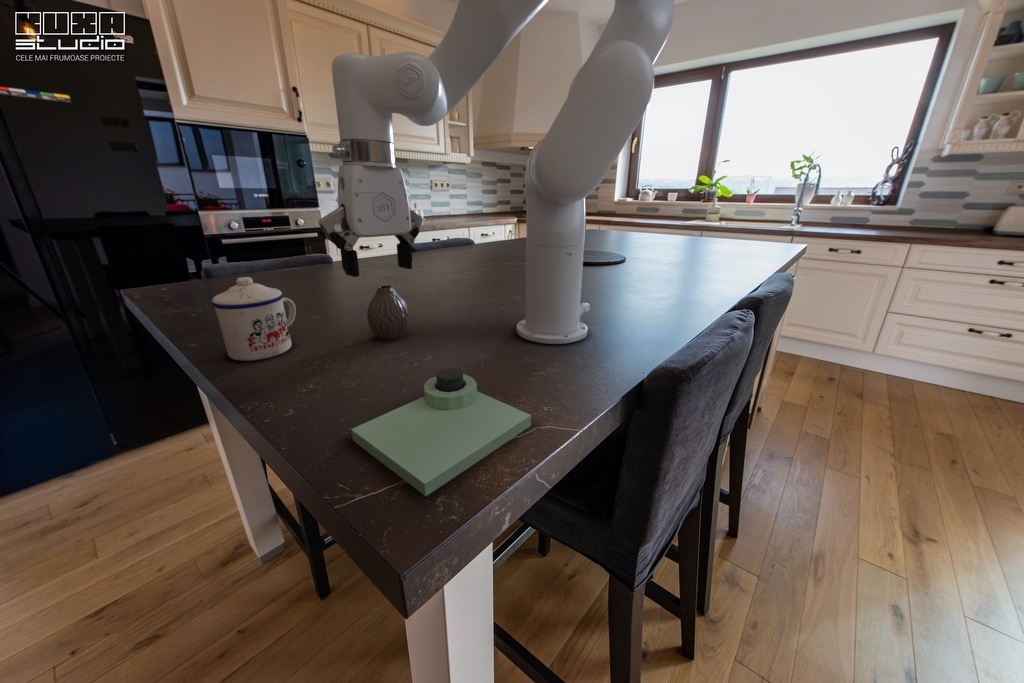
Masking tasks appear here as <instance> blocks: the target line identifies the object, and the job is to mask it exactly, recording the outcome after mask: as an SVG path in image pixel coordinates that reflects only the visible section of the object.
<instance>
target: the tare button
mask: <svg viewBox="0 0 1024 683" xmlns="http://www.w3.org/2000/svg"><path fill="white" fill-rule="evenodd" d="M463 374H464V372H463V371H462V369H460V368H455V367H452V368H451V367H449V368H442V369H441V370H439V371H437V372H436V374H435V377H436V379H437V389H438V390H439V391H441V392H454V391H458V390H460V389H463V387H464V385H463Z"/></svg>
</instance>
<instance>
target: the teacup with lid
mask: <svg viewBox="0 0 1024 683" xmlns="http://www.w3.org/2000/svg"><path fill="white" fill-rule="evenodd" d="M235 283H236V284H234V285H233V286H230V287H229V288H228V289H227V290H225V291H224V292H221V293H218V294H216V295H214V296H213V297H212V300H211V305H212V307H214V309H215V312H216V317H217V321H218V324H219V327H220V331H221V335H222V339H223V341H224V344H225V345H224V346H225V349H226V352H227V355H228V357H229V358H230V359H232V360H234V361H240V362H253V361H260V360H265V359H270V358H273V357H277V356H279V355H281V354H284V353H286V352H288V351H289V350H290V349H291V348H292V338H291V333H290V329H289V327H290V326H291V325H292V324H293V323H294V321H295V318H296V315H297V308H296V304H295V302H294V301H293V299H290V298H288V297H284V294H283V292H282V291H281V290H280V289H278V288H276V287H275V288H274V287H267V286H266V285H263V284H262V283H261V284H260V283H256V282H254V281H253V278H252V277H250V276H243V277H242V276H241V277H238V278H236V280H235ZM284 303H285V304H286V305H287V309H288V313H287V316H286V310H285V306H284Z"/></svg>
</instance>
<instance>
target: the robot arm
mask: <svg viewBox="0 0 1024 683" xmlns="http://www.w3.org/2000/svg"><path fill="white" fill-rule="evenodd" d="M549 1H550V0H458V2H457V6H456V8H455V9H456V10H455V12H454V16H453V18H452V21H451V23H450V25H449V27H448V29H447V31H446V33H445V34H444V36H443V38H442V39H441V40H440V42H439V44H438V45H437V46H436V47H435V49H433V51H432V52H431V53H430V54H429V56H428V57H427V56H425V55H423V54H421V53H419V52H414V51H401V52H395V53H389V54H383V55H374V56H373V55H367V54H363V53H354V52H353V53H351V52H350V53H348V52H347V53H342V54H338V55H337V56H335V57H334V58H333V60H332V63H331V75H332V83H333V91H334V92H333V93H334V100H335V110H336V117H337V124H338V126H337V127H338V134H339V141H338V144H333V145H332V153H333V155H334V156H337V157H338V156H339V157H340V161H341V162H342V165H338V174H337V208H335V209H334V210H332V211H331V212H329V213H327V214H326V215H325V216H323V217H320V219H318V221H317V223H318V225H319V227H320V228H321V230H322V231H323V233H324V234H325V235H326V238H327V239H328V240H329V241H330V242H331V243H332V244H333V245H335V246H336V248H337V249H339V251H340V257H341V265H342V270H343V271H344V273H345V275H346V276H350V277H353V278H358V277H359V276H360V267H359V266H360V265H359V259H358V252H357V250H356V249H354V246H355V245H356V244H357V242H358V240H359V239H360V238H376V237H391V236H394V237H395V238H396V239H397V241H398V242H399V243H398V242H397V243H396V252H397V253H396V255H397V266H398V267H399V268H402V269H405V270H411V269H413V250H412V246H413V245H414V244H415V239H416V238H417V237H418V235H419V233H420V229H421V226H422V223H423V220H424V219H423V216H421V215H419V214H418V213H416V212H414V211H413V210H411V209H410V203H409V197H408V190H407V187H406V182H405V178H404V174H403V172H402V168H401V167H399V168H398V167H397V164H396V162H397V160H396V148H395V139H394V123H393V114H396V115H397V114H398V115H401V116H403V117H406V119H408V120H409V121H410V122H412V123H413V124H415V125H417V126H421V127H430V126H434V125H436V124H437V123H439V122H441V121H442V120H443V119H444V118H445V117H447V115H449V113H450V112H451V111H452V110H453V109H454V108H455V107H456V106H457V105H458V104H459V103H460V102H461V101H462V100H463V99H464V98H465V97H466V96H467V95H468V93H470V91H471V90H472V89H473V88H474V86H476V84H477V83H478V82H479V80H481V78H482V77H483V76H484V74H485V73H486V72H487V71H488V70H489V68H490V67H491V66H492V65H493V64H494V62H496V61H497V59H498V58H499V57H500V56H501V55H502V54H503V52H504V51H505V49H506V47H507V46H508V45H509V43H510V42H512V41H513V39H514V38H515V37H516V36H517V35H518V34H519V33H520V32H521V30H522V29H523V28H524V27H526V25H527V24H528V23H529V22H530V21H531V20H532V19H533V18H534V17H535V15H536V14H538V13H539V11H540V10H541V9H542V8H544V6H545V5H546V4H547V3H548V2H549ZM613 6H614V7H613V11H612V14H611V15H610V17H609V19H608V21H607V23H606V25H605V26H604V28H603V31H602V33H601V35H600V36H599V38H598V40H597V42H596V43H595V46H594V47H593V49H592V51H591V53H590V54H589V56H588V57H587V59H586V61H585V62H584V63H583V64H582V66H581V67H580V69H579V70H578V71H577V73H576V74H575V76H574V77H573V80H572V82H571V84H570V86H569V89H568V92H567V97H566V100H565V101H564V103H563V104H562V106H561V108H560V109H559V112H558V113H557V115H556V117H555V119H554V120H553V122H552V124H551V126H550V128H549V129H548V131H547V132H546V134H545V135H544V137H543V138H541V140H539V141H538V142H537V143H536V144H535V145H534V147H532V150H531V151H530V153H529V155H528V157H527V161H526V165H525V175H524V182H525V184H524V185H525V187H524V188H525V206H526V207H525V208H526V209H525V210H526V212H525V213H526V232H525V234H526V236H525V237H526V240H525V292H524V294H525V296H524V297H525V299H524V300H525V304H524V317H525V318H524V319H522V320H520V321H519V322H518V323H516V327H515V328H516V334H517V335H518V336H519V337H521V338H522V339H524V340H526V341H529V342H532V343H533V342H534V343H537V344H543V345H544V344H545V345H547V344H548V345H565V344H570V343H571V344H572V343H575V342H579V341H582V340H583V339H585V338H586V337H587V336H588V326H587V324H585V323H584V322H582V321H581V317H582V316H583V315H584V314H586V313H588V312H590V310H591V306H590V304H589V303H588V302H582V303H581V299H582V298H581V297H582V296H581V295H582V280H583V267H584V252H585V251H584V249H585V241H586V240H585V238H586V198H587V197H588V196H590V195H591V194H592V193H593V192H594V191H596V189H597V188H598V186H600V184H601V183H602V181H603V180H604V179H605V177H606V176H607V174H608V173H609V171H610V170H611V168H612V166H613V165H614V163H615V162H616V160H617V159H618V157H619V156H620V154H621V152H622V151H623V149H624V148H625V146H626V144H627V143H628V141H629V140H630V138H631V136H632V135H633V134H634V131H635V130H636V128H637V127H638V125H639V123H640V122H641V120H642V118H643V117H644V115H645V114H646V112H647V109H648V107H649V105H650V102H651V100H652V96H653V93H654V88H655V70H654V63H655V62H656V60H657V58H658V57H659V55H660V53H661V51H662V50H663V48H664V46H665V44H666V43H667V40H668V38H669V36H670V33H671V30H672V27H673V23H674V20H675V19H674V18H675V0H614V5H613ZM338 222H339V225H340V229H341V231H342V233H341V234H340V233H338V232H337V231H336V228H335V224H337V223H338Z"/></svg>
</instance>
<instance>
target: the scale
mask: <svg viewBox="0 0 1024 683" xmlns="http://www.w3.org/2000/svg"><path fill="white" fill-rule="evenodd" d="M463 385H464V387H463V389H460V390H458V391H454V392H441V391H439V390H438V389H437V379H436V376H434V377H431V378H429V379H428V380H427V381H426V382H425V383H424V384H423V396H421V397H420V398H417V399H415V400H413V401H410V402H408V403H407V404H404V405H402V406H399V407H398V408H394V409H393V410H391V411H389V412H385V413H384V414H382V415H380V416H377V417H375V418H372V419H371V420H368V421H366V422H364V423H362V424H359V425H358V426H355V427H353V428H351V429H350V431H351V438H352V441H353V442H354V443H355V444H357V445H358V446H359V447H361V449H363V450H365V451H366V452H367V453H368V454H370V455H371V456H372V457H373V458H375V459H376V460H377V461H379V462H380V463H382V465H384V466H385V467H387V468H388V469H389V470H390V471H392V472H393V473H395V475H397V476H398V477H400V478H401V479H402V480H403V481H404V482H406V483H407V484H409V485H410V486H411V487H413V488H414V489H415V490H417V491H418V493H420V494H421V495H423V496H424V497H428V496H429V495H430V494H432V493H433V492H435V491H436V490H438V489H439V488H441V487H443V486H444V485H445V484H447V483H448V482H450V481H451V480H453V479H454V478H456V477H457V476H458V475H460V474H462V473H463V472H464V471H466V470H468V469H469V468H471V467H472V466H473V465H475V464H476V463H478V462H479V461H481V460H483V459H484V458H486V457H487V456H488V455H490V454H492V453H493V452H494V451H496V450H497V449H499V448H500V447H502V446H504V444H506V443H508V442H509V441H511V440H512V439H513V438H516V436H518V435H519V434H521V433H522V432H524V431H525V430H527V429H529V428H530V427H531V426H532V415H531V414H529V413H527V412H525V411H523V410H520V409H518V408H516V407H513V406H512V405H509V404H507V403H504V402H502V401H500V400H498V399H495V398H493V397H491V396H489V395H487V394H485V393H482V392H480V391H478V384H477V382H476V380H475V378H474V377H472V376H470V375H468V374H466V373H465V374H464V373H463Z"/></svg>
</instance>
